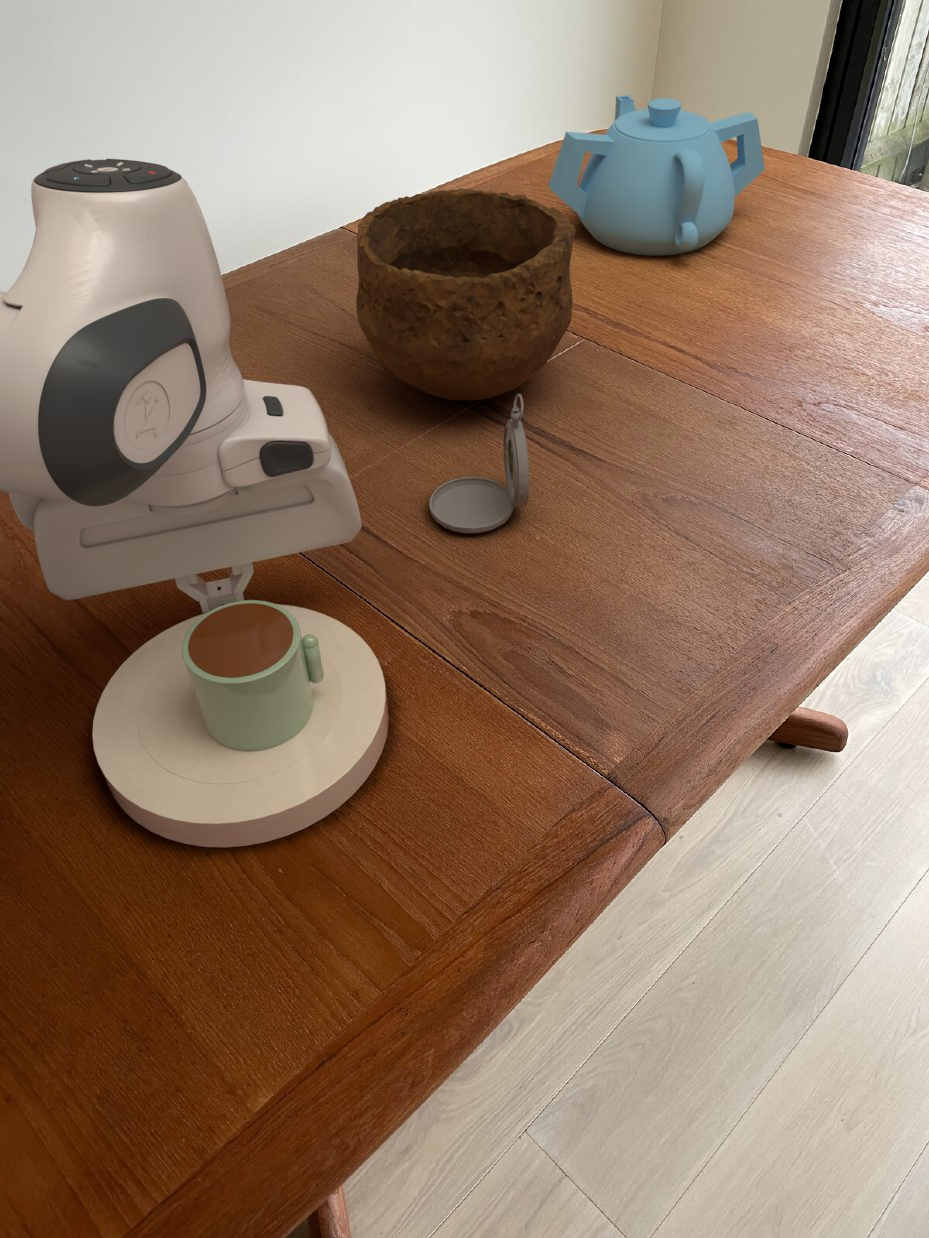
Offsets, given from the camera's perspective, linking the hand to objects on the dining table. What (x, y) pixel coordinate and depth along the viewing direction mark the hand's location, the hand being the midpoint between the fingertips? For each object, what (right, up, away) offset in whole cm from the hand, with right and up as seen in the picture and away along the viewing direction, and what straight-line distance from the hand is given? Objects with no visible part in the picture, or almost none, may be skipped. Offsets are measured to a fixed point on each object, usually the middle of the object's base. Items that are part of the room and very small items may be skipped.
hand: (224, 607), depth 70 cm
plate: (+3, -8, -6) cm, 10 cm away
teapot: (+38, +45, +48) cm, 76 cm away
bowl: (+17, +21, +24) cm, 36 cm away
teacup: (+4, -6, -8) cm, 11 cm away
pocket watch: (+18, +8, +10) cm, 22 cm away
